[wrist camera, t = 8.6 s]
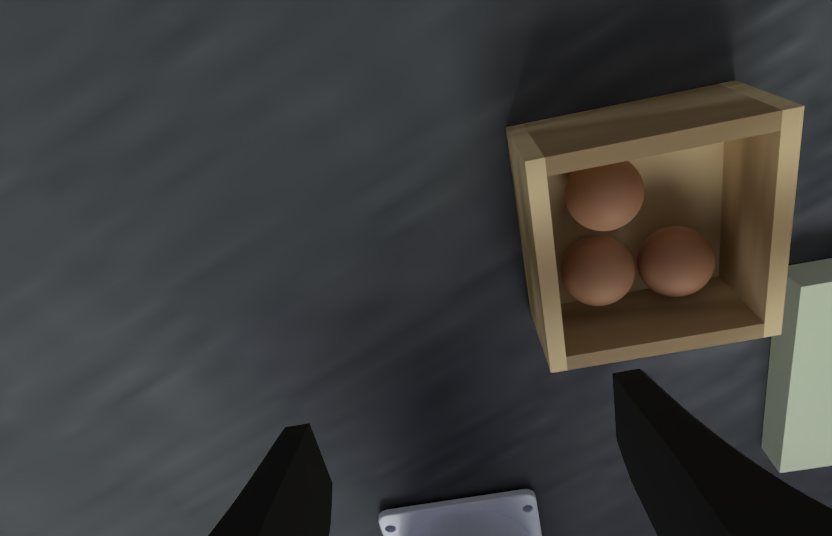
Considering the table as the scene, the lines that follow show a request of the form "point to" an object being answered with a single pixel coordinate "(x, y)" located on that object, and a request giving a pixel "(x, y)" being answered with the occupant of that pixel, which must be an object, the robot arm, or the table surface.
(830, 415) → the lid
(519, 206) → the box
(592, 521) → the table surface
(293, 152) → the table surface
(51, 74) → the table surface
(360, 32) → the table surface
